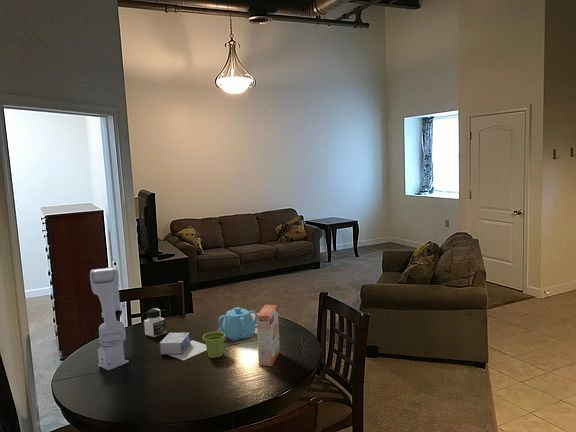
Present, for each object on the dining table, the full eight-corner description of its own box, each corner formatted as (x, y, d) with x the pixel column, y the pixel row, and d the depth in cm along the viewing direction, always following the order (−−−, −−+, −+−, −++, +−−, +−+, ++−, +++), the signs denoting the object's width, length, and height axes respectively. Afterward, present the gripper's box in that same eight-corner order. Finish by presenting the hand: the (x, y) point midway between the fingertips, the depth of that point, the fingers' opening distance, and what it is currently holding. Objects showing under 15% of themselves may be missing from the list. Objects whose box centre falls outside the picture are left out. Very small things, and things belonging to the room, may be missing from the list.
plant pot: (199, 358, 198) (197, 338, 197) (213, 349, 206) (211, 330, 205) (217, 361, 194) (216, 341, 193) (230, 352, 202) (229, 333, 201)
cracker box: (273, 367, 186) (270, 315, 184) (258, 366, 188) (255, 315, 185) (280, 352, 200) (278, 304, 197) (266, 352, 201) (264, 304, 199)
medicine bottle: (154, 337, 224) (152, 312, 223) (144, 334, 228) (142, 310, 227) (166, 332, 230) (164, 308, 228) (157, 330, 234) (155, 306, 233)
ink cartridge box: (182, 355, 202) (192, 341, 216) (181, 343, 201) (191, 329, 215) (160, 355, 203) (171, 341, 217) (159, 343, 202) (170, 329, 216)
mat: (183, 360, 196) (183, 360, 196) (163, 353, 205) (163, 352, 205) (213, 347, 208) (213, 347, 208) (192, 341, 217) (192, 340, 217)
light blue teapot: (214, 339, 218) (212, 311, 216) (235, 328, 232) (233, 301, 230) (242, 345, 210) (240, 315, 208) (263, 333, 223) (261, 305, 221)
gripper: (110, 303, 200) (113, 334, 202) (129, 293, 214) (132, 322, 216) (95, 302, 201) (99, 333, 203) (115, 292, 215) (118, 321, 217)
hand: (115, 327), depth 210 cm, fingers closed
